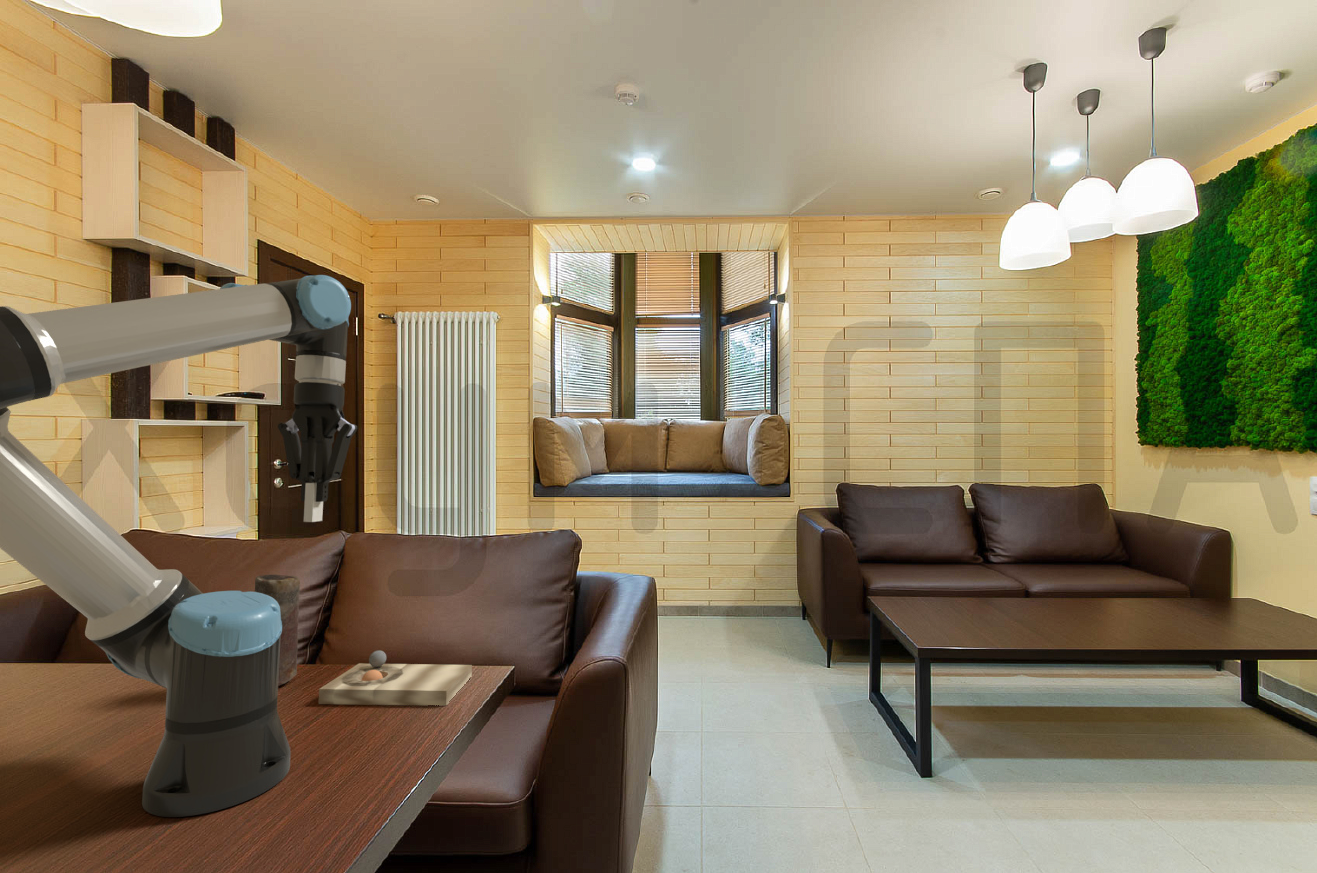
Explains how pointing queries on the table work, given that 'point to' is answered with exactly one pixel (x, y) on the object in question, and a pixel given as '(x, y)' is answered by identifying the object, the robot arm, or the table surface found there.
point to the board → (397, 685)
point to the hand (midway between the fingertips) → (313, 521)
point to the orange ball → (372, 675)
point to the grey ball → (377, 658)
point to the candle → (284, 618)
